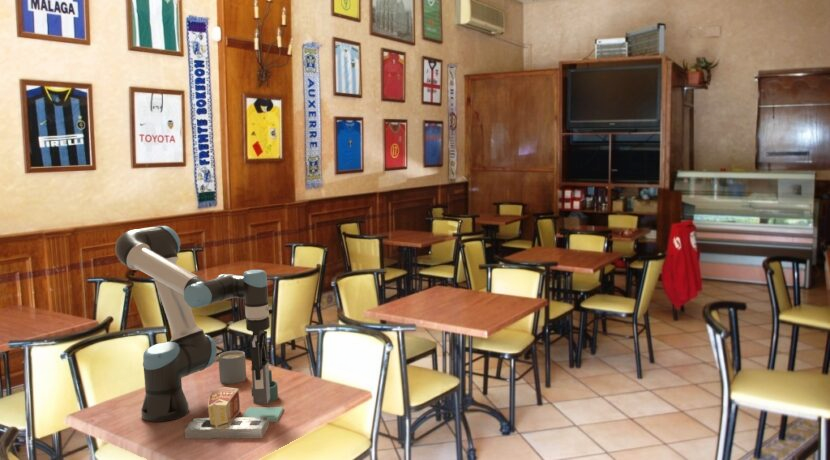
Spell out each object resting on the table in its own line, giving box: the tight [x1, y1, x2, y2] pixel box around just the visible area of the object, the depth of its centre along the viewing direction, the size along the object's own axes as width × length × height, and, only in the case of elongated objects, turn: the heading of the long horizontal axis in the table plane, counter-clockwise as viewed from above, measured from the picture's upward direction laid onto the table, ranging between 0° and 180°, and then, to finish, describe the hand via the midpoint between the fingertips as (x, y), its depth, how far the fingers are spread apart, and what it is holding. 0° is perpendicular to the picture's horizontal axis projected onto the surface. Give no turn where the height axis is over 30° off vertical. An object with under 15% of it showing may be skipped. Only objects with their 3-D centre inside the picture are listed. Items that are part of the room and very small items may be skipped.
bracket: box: [250, 369, 279, 403], centre depth 247 cm, size 9×9×9 cm
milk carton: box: [207, 386, 241, 428], centre depth 226 cm, size 9×9×20 cm
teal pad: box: [241, 406, 285, 423], centre depth 232 cm, size 12×10×1 cm
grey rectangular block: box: [251, 361, 270, 405], centre depth 230 cm, size 4×4×13 cm
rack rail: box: [183, 417, 270, 440], centre depth 219 cm, size 24×9×3 cm, turn 89°
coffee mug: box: [218, 350, 247, 385], centre depth 270 cm, size 13×10×10 cm
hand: (261, 385), depth 231 cm, fingers closed on grey rectangular block, 4 cm apart
